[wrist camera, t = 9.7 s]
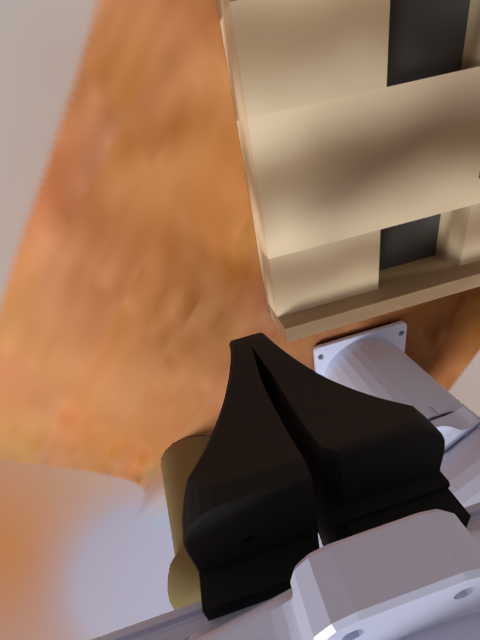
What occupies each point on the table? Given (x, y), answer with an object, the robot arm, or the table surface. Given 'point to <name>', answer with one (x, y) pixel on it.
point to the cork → (175, 475)
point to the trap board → (358, 152)
